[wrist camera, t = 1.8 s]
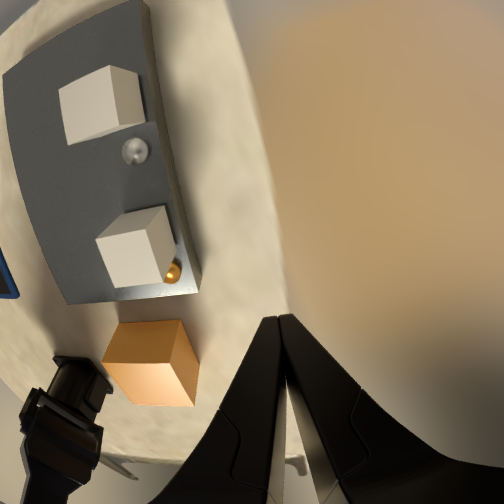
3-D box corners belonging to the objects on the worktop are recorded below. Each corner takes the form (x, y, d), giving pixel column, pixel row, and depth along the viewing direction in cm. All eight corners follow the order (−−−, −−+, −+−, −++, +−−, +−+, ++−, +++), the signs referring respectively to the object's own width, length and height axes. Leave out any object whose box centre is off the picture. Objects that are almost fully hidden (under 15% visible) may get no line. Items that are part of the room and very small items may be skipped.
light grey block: (134, 257, 17) (115, 288, 14) (120, 214, 16) (95, 238, 12) (176, 250, 17) (163, 282, 14) (164, 205, 15) (145, 229, 12)
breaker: (100, 136, 13) (67, 145, 10) (92, 90, 12) (58, 89, 9) (145, 122, 13) (119, 125, 10) (137, 73, 12) (109, 65, 9)
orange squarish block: (144, 366, 26) (132, 404, 21) (119, 323, 23) (101, 362, 18) (199, 365, 25) (194, 406, 21) (180, 319, 22) (169, 363, 18)
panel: (77, 291, 21) (65, 307, 19) (18, 75, 12) (-1, 75, 10) (202, 276, 20) (197, 295, 18) (148, 7, 11) (136, -5, 9)
